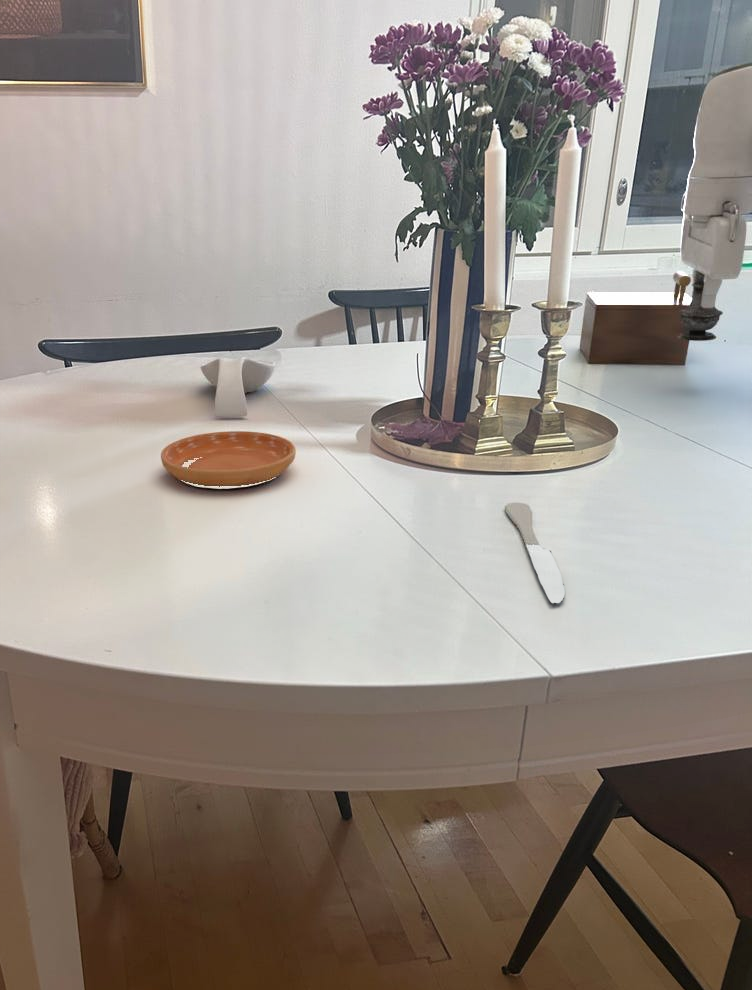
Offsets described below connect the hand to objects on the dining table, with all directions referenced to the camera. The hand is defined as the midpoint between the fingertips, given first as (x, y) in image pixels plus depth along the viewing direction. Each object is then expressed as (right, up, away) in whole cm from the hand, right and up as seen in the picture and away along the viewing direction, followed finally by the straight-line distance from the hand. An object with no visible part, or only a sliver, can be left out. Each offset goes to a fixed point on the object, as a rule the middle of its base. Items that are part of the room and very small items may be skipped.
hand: (702, 304), depth 136 cm
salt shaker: (0, -4, +2) cm, 5 cm away
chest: (0, +1, +27) cm, 27 cm away
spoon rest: (-68, -12, +7) cm, 70 cm away
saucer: (-68, -29, -24) cm, 78 cm away
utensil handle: (-38, -41, -47) cm, 72 cm away
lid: (0, +8, +22) cm, 24 cm away
